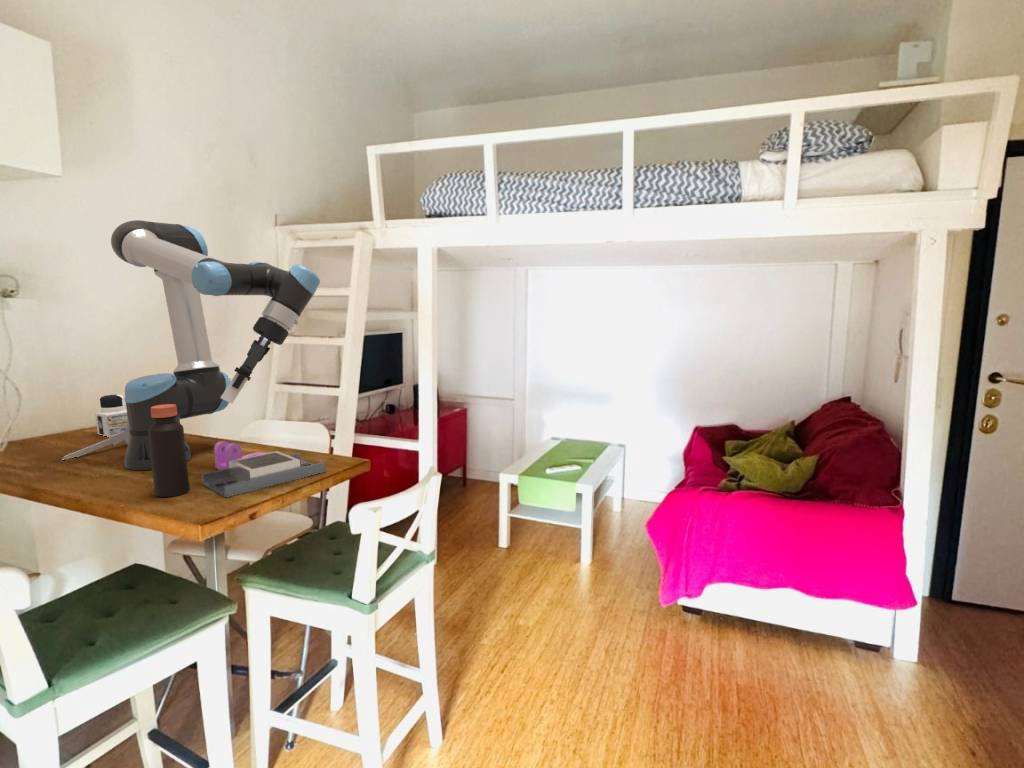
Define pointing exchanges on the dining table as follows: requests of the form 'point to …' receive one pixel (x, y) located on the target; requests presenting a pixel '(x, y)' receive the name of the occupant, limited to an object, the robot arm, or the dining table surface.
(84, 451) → the caliper
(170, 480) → the vinegar
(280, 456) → the grey base plate
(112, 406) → the container
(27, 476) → the dining table surface
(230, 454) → the bracket
